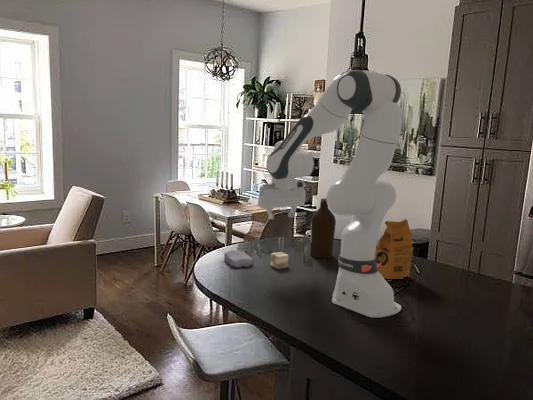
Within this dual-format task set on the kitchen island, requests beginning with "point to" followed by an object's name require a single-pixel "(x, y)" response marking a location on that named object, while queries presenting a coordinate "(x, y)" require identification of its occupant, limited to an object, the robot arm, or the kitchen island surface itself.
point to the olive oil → (322, 231)
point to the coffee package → (395, 250)
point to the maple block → (279, 260)
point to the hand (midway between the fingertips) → (281, 218)
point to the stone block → (237, 258)
